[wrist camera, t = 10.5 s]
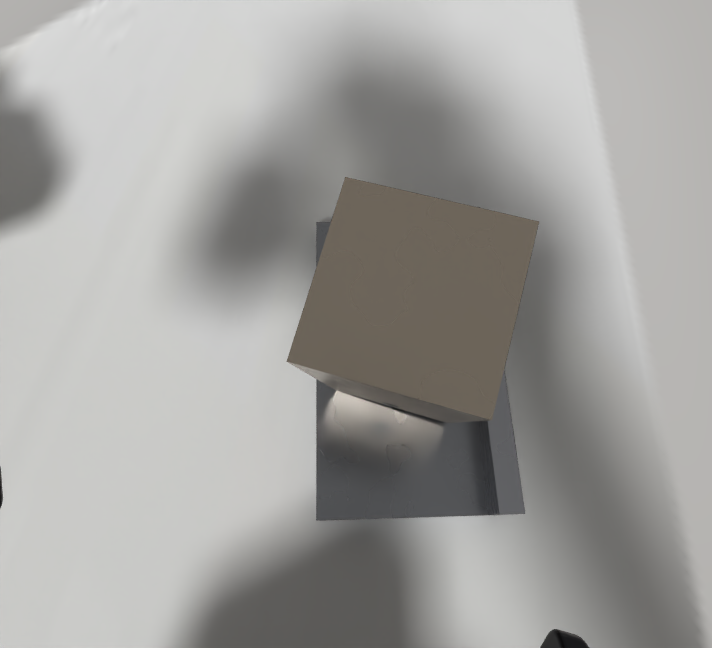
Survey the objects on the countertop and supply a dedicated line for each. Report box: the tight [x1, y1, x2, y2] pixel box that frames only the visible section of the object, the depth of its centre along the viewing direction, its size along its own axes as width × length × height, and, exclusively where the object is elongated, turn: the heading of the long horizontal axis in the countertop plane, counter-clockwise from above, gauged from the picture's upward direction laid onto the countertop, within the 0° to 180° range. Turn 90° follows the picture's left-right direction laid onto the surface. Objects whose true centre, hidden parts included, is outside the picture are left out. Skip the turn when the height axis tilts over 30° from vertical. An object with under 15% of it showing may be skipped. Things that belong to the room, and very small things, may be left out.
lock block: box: [287, 177, 539, 423], centre depth 17 cm, size 5×5×10 cm
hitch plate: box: [316, 207, 525, 521], centre depth 22 cm, size 14×8×2 cm, turn 2°
